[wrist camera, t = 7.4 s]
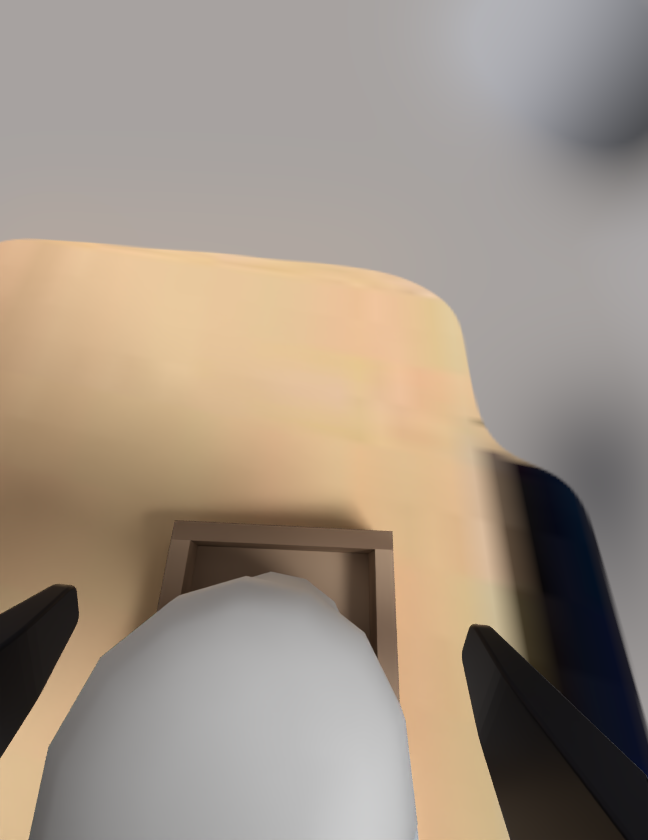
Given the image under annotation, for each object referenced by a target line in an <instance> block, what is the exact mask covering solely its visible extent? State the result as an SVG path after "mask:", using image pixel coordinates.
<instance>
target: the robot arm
mask: <svg viewBox="0 0 648 840" xmlns="http://www.w3.org/2000/svg"><path fill="white" fill-rule="evenodd" d="M78 618H79V609H78V599H77V591H76V588H75V587H74V586H72V585H64V584H55V585H52V586H50V587H48V588H46V589H45V590H43V591H41V592H39V593H37V594H36V595H34V596H32V597H30V598H28V599H27V600H25V601H23V602H21V603H19V604H18V605H16V606H14V607H12V608H10V609H9V610H7V611H5V612H3V613H1V614H0V758H1V756H2V755H3V753H4V752H5V750H6V748H7V747H8V745H9V744H10V742H11V741H12V739H13V737H14V736H15V734H16V733H17V731H18V730H19V728H20V726H21V725H22V723H23V722H24V720H25V719H26V717H27V715H28V714H29V712H30V711H31V709H32V707H33V706H34V704H35V702H36V701H37V699H38V697H39V696H40V694H41V692H42V690H43V688H44V686H45V685H46V683H47V681H48V679H49V677H50V675H51V673H52V671H53V669H54V667H55V665H56V663H57V661H58V659H59V658H60V656H61V654H62V652H63V650H64V648H65V646H66V644H67V642H68V640H69V638H70V636H71V634H72V632H73V630H74V629H75V627H76V624H77V622H78ZM462 661H463V666H464V671H465V676H466V681H467V685H468V690H469V695H470V699H471V704H472V709H473V714H474V718H475V723H476V727H477V731H478V736H479V739H480V743H481V746H482V750H483V753H484V756H485V760H486V763H487V766H488V769H489V772H490V776H491V779H492V782H493V785H494V789H495V792H496V795H497V798H498V801H499V805H500V808H501V811H502V814H503V818H504V821H505V824H506V827H507V831H508V834H509V837H510V840H648V779H647V777H646V775H645V774H644V773H643V772H642V771H641V770H640V769H639V768H638V767H637V766H636V765H635V764H634V763H633V762H632V761H631V760H630V759H629V758H628V757H627V756H626V755H625V754H624V753H623V752H621V751H620V750H619V749H618V748H617V747H616V746H615V745H614V744H613V743H612V742H611V741H610V740H609V739H608V738H607V737H606V736H605V735H604V734H603V733H602V732H601V731H599V730H598V729H597V728H596V727H595V726H594V725H593V724H592V723H591V722H590V721H589V720H588V719H587V718H586V717H585V716H584V715H583V714H582V713H581V712H580V711H579V710H577V709H576V708H575V707H574V706H573V705H572V704H571V703H570V702H569V701H568V700H567V699H566V698H565V697H564V696H563V695H562V694H561V693H560V692H559V691H558V690H557V689H555V688H554V687H553V686H552V685H551V684H550V683H549V682H548V681H547V680H546V679H545V678H544V677H543V676H542V675H541V674H540V673H539V672H538V671H537V670H536V669H535V668H533V667H532V666H531V665H530V664H529V663H528V662H527V661H526V660H525V659H524V658H523V657H522V656H521V655H520V654H519V653H518V652H517V651H516V650H515V649H514V648H513V647H511V646H510V645H509V644H508V643H507V642H506V641H505V640H504V639H503V638H502V637H501V636H500V635H499V634H498V633H497V632H496V631H495V630H494V629H493V628H491V627H490V626H487V625H478V624H473V625H471V626H470V628H469V630H468V634H467V637H466V640H465V643H464V647H463V650H462Z"/></svg>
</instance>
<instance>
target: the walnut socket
mask: <svg viewBox="0 0 648 840" xmlns="http://www.w3.org/2000/svg"><path fill="white" fill-rule="evenodd" d="M268 572H276V573H280V574H285V575H289V576H294V577H298V578H303V579H306V580H308V581H309V582H310V583H311V584H313V585H314V586H315V587H316V588H318V589H319V590H320V591H322V592H323V593H324V594H325V595H327V596H328V597H329V598H330V599H332V600H333V601H334V602H335V604H336V606H337V608H338V610H339V612H340V614H342V615H343V616H344V617H345V618H347V619H348V620H349V621H350V622H352V623H353V624H354V625H356V626H357V627H358V628H359V629H361V630H362V631H363V632H364V633H365V634H366V637H367V639H368V641H369V643H370V645H371V647H372V649H373V651H374V653H375V655H376V657H377V659H378V661H379V663H380V665H381V667H382V669H383V671H384V673H385V675H386V677H387V679H388V681H389V683H390V685H391V687H392V689H393V691H394V693H395V695H396V697H397V699H398V701H399V703H400V700H399V677H398V653H397V630H396V606H395V582H394V559H393V535H392V531H375V530H355V529H336V528H316V527H296V526H276V525H256V524H236V523H216V522H196V521H176V520H175V522H174V527H173V532H172V537H171V543H170V548H169V553H168V558H167V563H166V568H165V573H164V578H163V583H162V588H161V593H160V598H159V603H158V608H157V612H158V611H159V610H160V609H162V608H163V607H164V606H165V605H166V604H168V603H169V602H170V601H172V600H173V599H175V598H176V597H177V596H179V595H182V594H185V593H189V592H192V591H196V590H199V589H203V588H206V587H209V586H213V585H216V584H220V583H223V582H227V581H230V580H233V579H237V578H240V577H244V576H249V577H254V576H258V575H261V574H264V573H268Z"/></svg>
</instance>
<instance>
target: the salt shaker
mask: <svg viewBox="0 0 648 840" xmlns="http://www.w3.org/2000/svg"><path fill="white" fill-rule="evenodd" d="M416 828H417V816H416V807H415V799H414V790H413V781H412V773H411V764H410V756H409V747H408V738H407V730H406V721H405V718H404V715H403V712H402V709H401V706H400V703H399V701H398V699H397V697H396V695H395V693H394V691H393V689H392V687H391V685H390V683H389V681H388V679H387V677H386V675H385V673H384V671H383V669H382V667H381V665H380V663H379V661H378V659H377V657H376V655H375V653H374V651H373V649H372V647H371V645H370V643H369V641H368V639H367V637H366V634H365V633H364V632H363V631H362V630H361V629H359V628H358V627H357V626H356V625H354V624H353V623H352V622H350V621H349V620H348V619H347V618H345V617H344V616H343V615H342V614H340V612H339V610H338V608H337V606H336V604H335V602H334V601H333V600H332V599H330V598H329V597H328V596H327V595H325V594H324V593H323V592H322V591H320V590H319V589H318V588H316V587H315V586H314V585H313V584H311V583H310V582H309V581H308V580H306V579H303V578H298V577H294V576H289V575H285V574H280V573H276V572H268V573H264V574H261V575H258V576H254V577H249V576H244V577H240V578H237V579H233V580H230V581H227V582H223V583H220V584H216V585H213V586H209V587H206V588H203V589H199V590H196V591H192V592H189V593H185V594H182V595H179V596H177V597H176V598H175V599H173V600H172V601H170V602H169V603H168V604H166V605H165V606H164V607H163V608H162V609H160V610H159V611H158V612H157V613H155V614H154V615H153V616H152V617H150V618H149V619H148V620H147V621H145V622H144V623H143V624H142V625H140V626H139V627H138V628H137V629H135V630H134V631H133V632H132V633H130V634H129V635H128V636H127V637H125V638H124V639H123V640H122V641H120V642H119V643H118V644H117V645H115V646H114V647H113V648H112V649H110V650H109V651H108V652H107V653H105V654H104V655H103V656H102V657H100V659H99V661H98V663H97V664H96V666H95V668H94V669H93V671H92V673H91V675H90V676H89V678H88V680H87V682H86V683H85V685H84V687H83V688H82V690H81V692H80V694H79V695H78V697H77V699H76V701H75V702H74V704H73V706H72V707H71V709H70V711H69V713H68V714H67V716H66V718H65V720H64V721H63V723H62V725H61V726H60V728H59V730H58V732H57V733H56V735H55V737H54V739H53V740H52V742H51V744H50V745H49V747H48V752H47V756H46V761H45V766H44V770H43V775H42V780H41V784H40V789H39V794H38V798H37V803H36V808H35V812H34V817H33V822H32V826H31V831H30V836H29V840H414V836H415V832H416Z"/></svg>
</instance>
